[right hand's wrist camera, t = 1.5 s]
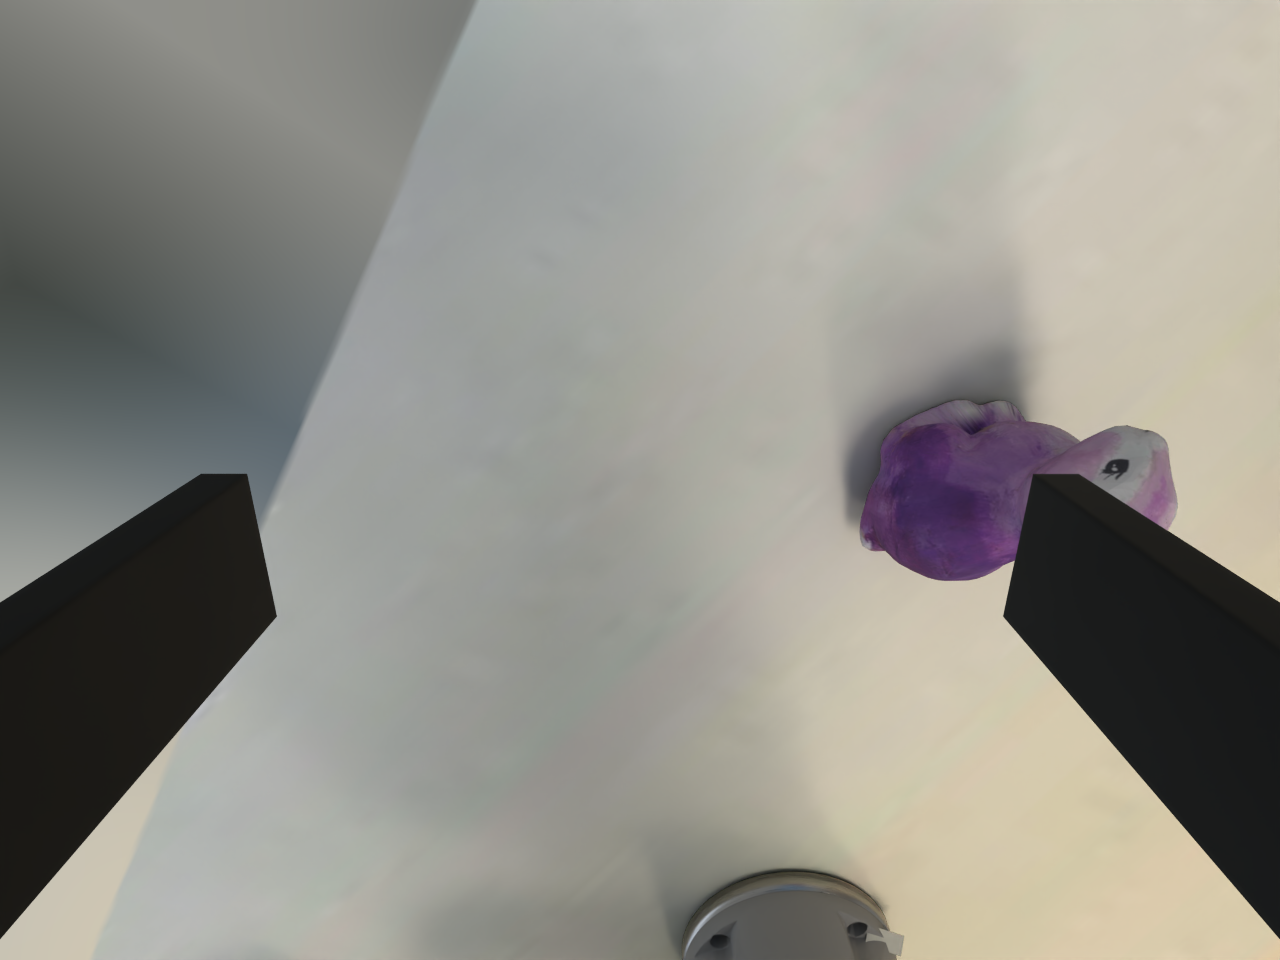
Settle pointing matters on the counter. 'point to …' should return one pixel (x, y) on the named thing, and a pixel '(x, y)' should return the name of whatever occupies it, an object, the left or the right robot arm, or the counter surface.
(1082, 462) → the figurine
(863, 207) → the counter surface
